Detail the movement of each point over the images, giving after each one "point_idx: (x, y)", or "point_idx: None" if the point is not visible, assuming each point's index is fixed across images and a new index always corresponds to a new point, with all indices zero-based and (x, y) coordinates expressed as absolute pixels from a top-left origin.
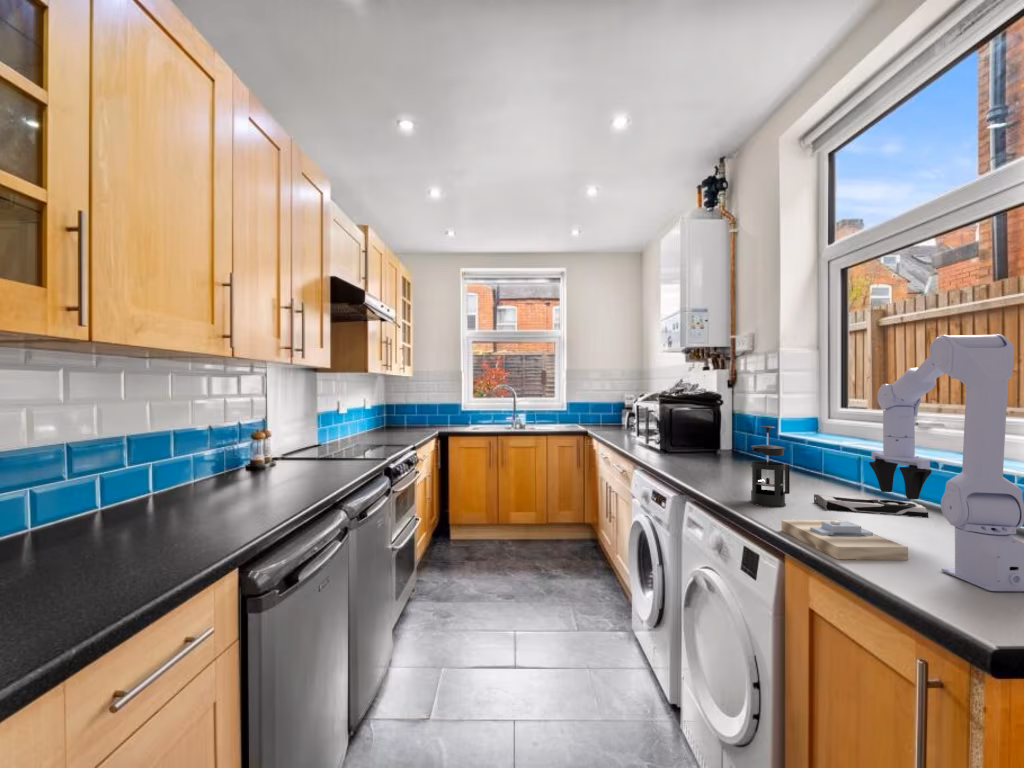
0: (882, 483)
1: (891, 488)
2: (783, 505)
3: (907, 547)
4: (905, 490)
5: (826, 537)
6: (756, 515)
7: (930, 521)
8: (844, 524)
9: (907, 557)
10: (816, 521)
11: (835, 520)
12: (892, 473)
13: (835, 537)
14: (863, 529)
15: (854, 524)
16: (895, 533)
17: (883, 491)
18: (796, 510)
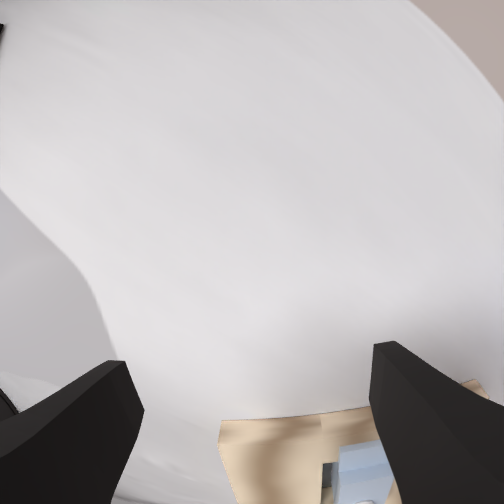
0: (120, 454)
1: (111, 376)
2: (2, 395)
3: (488, 398)
4: (384, 449)
5: (391, 500)
6: (119, 486)
7: (36, 31)
8: (371, 495)
9: (477, 384)
10: (246, 490)
11: (222, 454)
12: (37, 456)
13: (394, 491)
14: (364, 451)
15: (374, 481)
16: (216, 261)
17: (140, 409)
18: (20, 387)
